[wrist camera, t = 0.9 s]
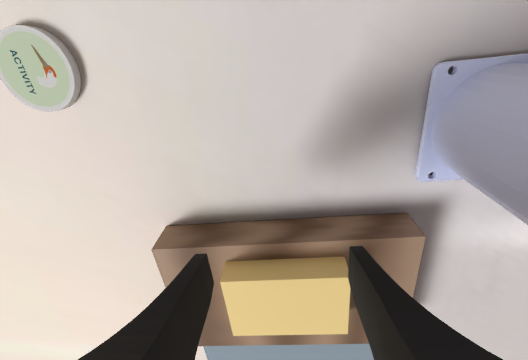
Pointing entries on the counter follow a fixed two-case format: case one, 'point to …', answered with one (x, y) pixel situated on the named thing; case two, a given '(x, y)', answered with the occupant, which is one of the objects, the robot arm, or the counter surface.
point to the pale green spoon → (38, 68)
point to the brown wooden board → (291, 247)
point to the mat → (290, 352)
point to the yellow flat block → (287, 296)
